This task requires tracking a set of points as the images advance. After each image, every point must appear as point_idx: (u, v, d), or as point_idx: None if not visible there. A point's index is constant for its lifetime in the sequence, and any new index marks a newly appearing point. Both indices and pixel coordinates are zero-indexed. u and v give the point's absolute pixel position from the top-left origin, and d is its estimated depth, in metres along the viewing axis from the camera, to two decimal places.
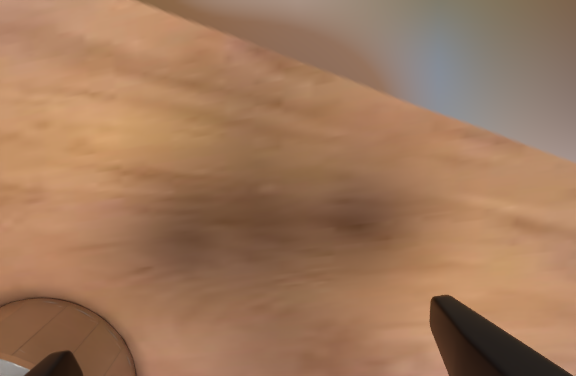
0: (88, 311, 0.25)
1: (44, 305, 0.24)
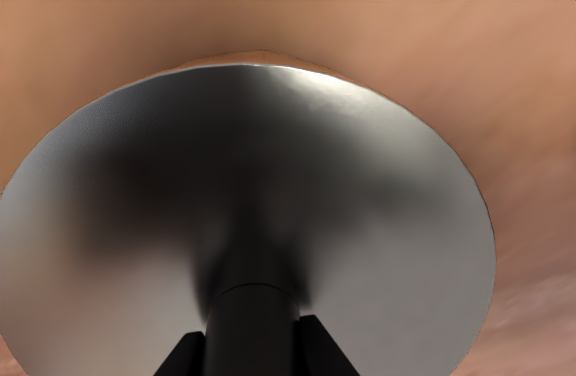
0: (232, 53, 0.13)
1: None
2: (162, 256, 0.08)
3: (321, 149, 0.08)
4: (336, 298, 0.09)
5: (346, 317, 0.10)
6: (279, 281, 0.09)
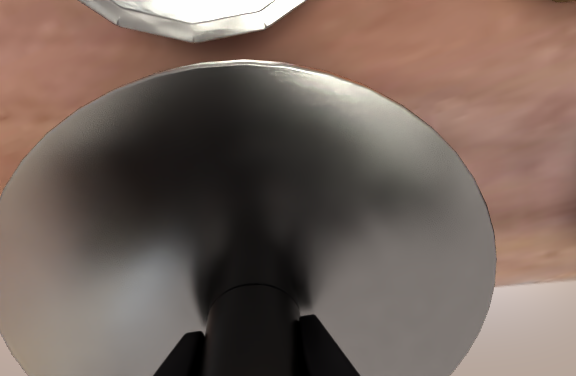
0: None
1: None
2: (162, 256, 0.08)
3: (321, 149, 0.08)
4: (336, 298, 0.09)
5: (346, 317, 0.10)
6: (279, 281, 0.09)
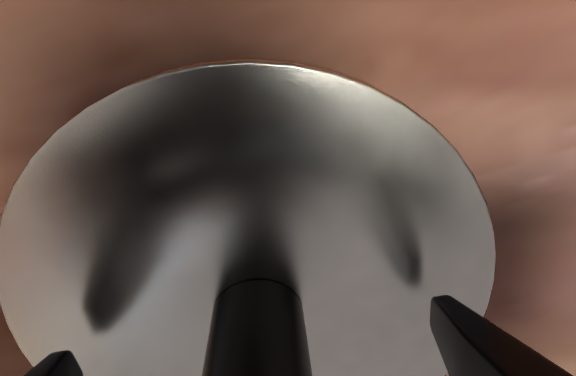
0: None
1: None
2: (168, 252, 0.09)
3: (324, 146, 0.08)
4: (338, 293, 0.09)
5: (348, 312, 0.10)
6: (282, 277, 0.09)
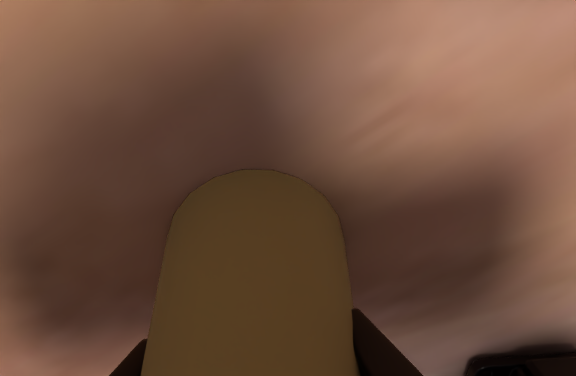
0: None
1: None
2: None
3: None
4: None
5: None
6: None
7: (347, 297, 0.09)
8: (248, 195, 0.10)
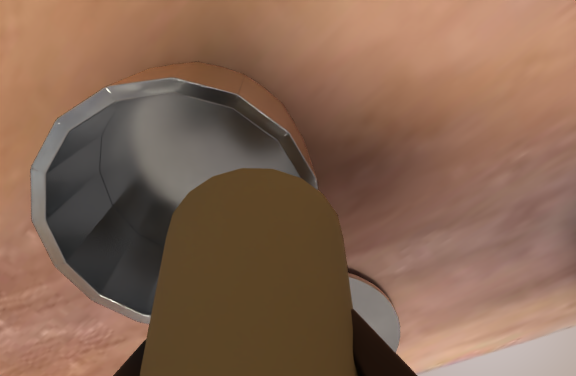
0: None
1: None
2: None
3: None
4: None
5: None
6: None
7: (346, 295, 0.09)
8: (247, 193, 0.10)
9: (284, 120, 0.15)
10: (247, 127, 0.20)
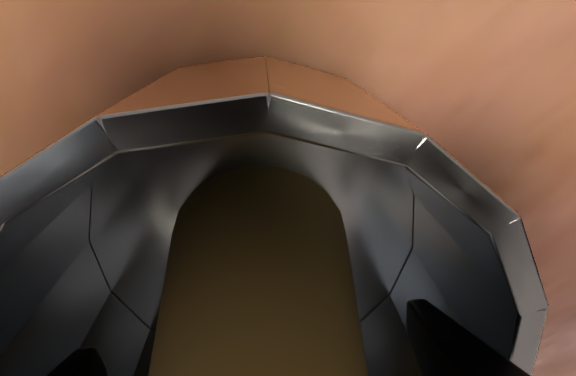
0: (227, 60, 0.10)
1: None
2: None
3: None
4: None
5: None
6: None
7: (350, 289, 0.09)
8: (253, 190, 0.10)
9: None
10: (340, 169, 0.12)
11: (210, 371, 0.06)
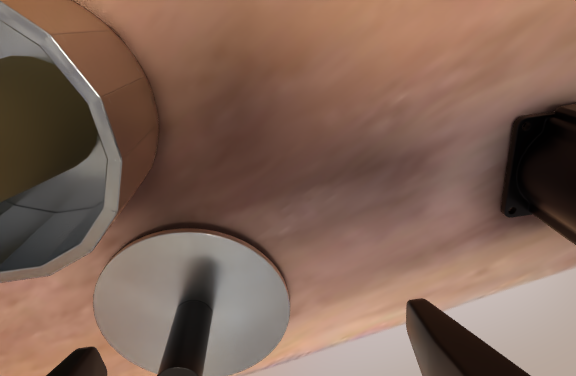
0: None
1: None
2: (150, 301, 0.23)
3: (183, 253, 0.22)
4: (220, 298, 0.24)
5: (228, 304, 0.24)
6: (195, 298, 0.23)
7: (34, 111, 0.15)
8: None
9: (67, 30, 0.13)
10: None
11: None
